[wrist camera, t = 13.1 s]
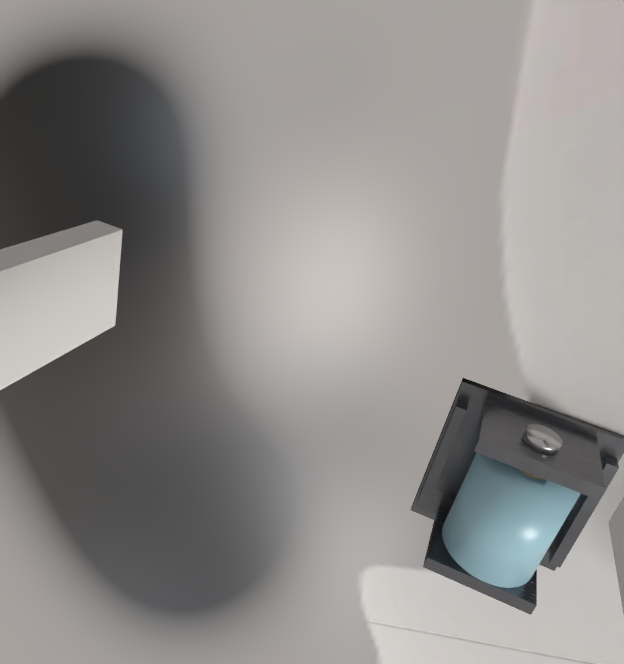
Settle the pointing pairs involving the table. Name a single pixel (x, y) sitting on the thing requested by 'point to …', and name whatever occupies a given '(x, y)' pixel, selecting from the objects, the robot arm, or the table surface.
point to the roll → (504, 521)
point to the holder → (520, 452)
